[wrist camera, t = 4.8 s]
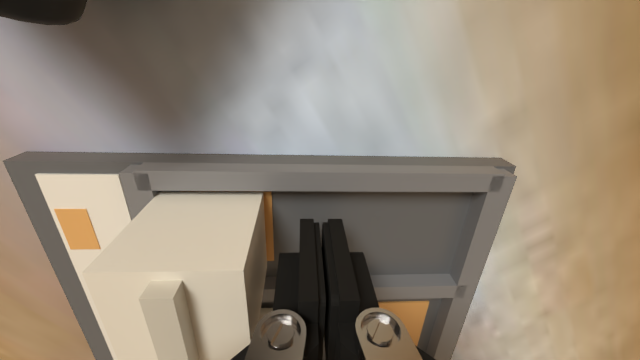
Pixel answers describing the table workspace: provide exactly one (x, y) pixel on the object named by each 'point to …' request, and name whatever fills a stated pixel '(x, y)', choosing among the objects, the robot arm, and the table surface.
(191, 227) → the cream block with bar
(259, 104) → the table surface
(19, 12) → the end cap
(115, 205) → the switch bank
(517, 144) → the table surface
